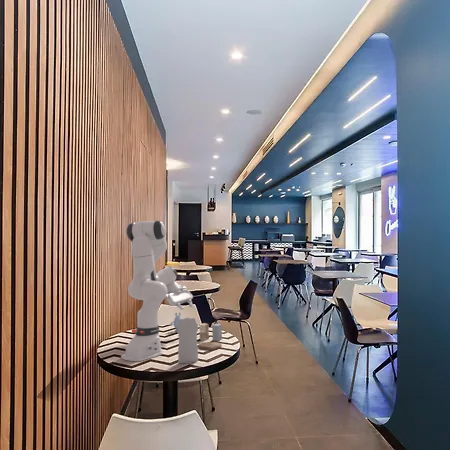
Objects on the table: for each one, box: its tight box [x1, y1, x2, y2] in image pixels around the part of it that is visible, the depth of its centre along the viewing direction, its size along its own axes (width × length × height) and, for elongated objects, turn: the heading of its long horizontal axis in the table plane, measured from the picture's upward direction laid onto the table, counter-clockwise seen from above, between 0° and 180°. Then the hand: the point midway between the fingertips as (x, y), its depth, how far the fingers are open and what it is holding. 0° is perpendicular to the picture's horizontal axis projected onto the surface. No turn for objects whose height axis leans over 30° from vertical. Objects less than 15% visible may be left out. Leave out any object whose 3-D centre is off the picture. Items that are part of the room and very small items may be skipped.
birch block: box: [198, 322, 210, 341], centre depth 234 cm, size 4×4×9 cm
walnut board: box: [197, 341, 222, 351], centre depth 217 cm, size 13×13×1 cm
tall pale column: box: [176, 317, 199, 365], centre depth 192 cm, size 11×4×22 cm, turn 106°
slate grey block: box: [211, 323, 223, 342], centre depth 231 cm, size 4×4×9 cm
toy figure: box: [169, 312, 182, 332], centre depth 255 cm, size 11×6×12 cm, turn 107°
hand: (187, 307), depth 241 cm, fingers open, 8 cm apart
